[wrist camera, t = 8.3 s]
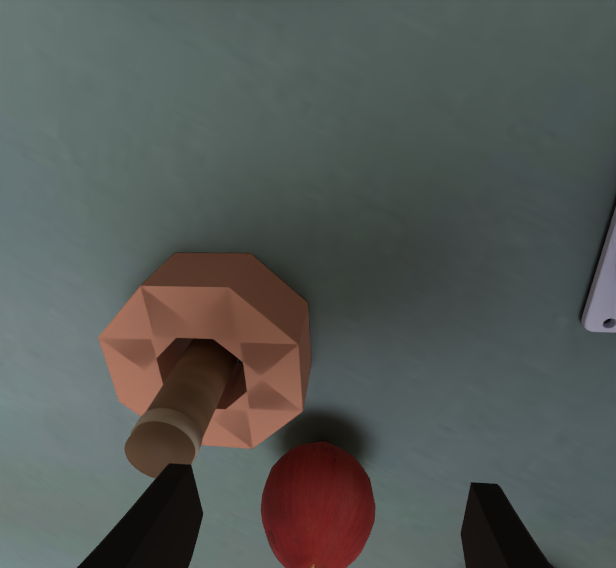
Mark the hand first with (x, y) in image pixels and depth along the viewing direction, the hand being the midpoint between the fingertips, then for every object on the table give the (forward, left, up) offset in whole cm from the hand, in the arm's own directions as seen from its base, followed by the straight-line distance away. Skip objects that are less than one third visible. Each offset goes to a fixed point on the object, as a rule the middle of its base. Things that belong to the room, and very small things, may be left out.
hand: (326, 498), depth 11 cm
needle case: (+6, +2, -10) cm, 12 cm away
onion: (+1, +10, -11) cm, 15 cm away
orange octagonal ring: (+6, +2, -10) cm, 12 cm away
